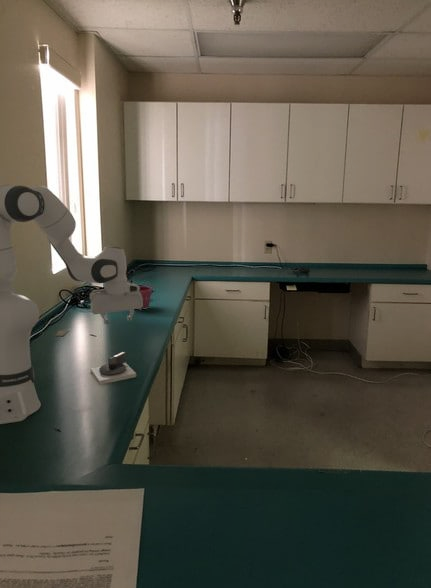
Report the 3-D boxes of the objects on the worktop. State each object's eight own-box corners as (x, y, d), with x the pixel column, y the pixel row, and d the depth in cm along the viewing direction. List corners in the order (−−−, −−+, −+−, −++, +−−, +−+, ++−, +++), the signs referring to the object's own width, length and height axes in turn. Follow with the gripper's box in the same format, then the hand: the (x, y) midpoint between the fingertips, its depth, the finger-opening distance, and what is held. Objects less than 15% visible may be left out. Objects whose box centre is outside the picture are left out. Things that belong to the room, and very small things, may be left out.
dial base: (99, 384, 164) (99, 380, 164) (90, 371, 176) (90, 368, 176) (136, 376, 171) (136, 372, 170) (125, 365, 183) (124, 361, 182)
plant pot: (125, 311, 269) (124, 290, 266) (133, 305, 283) (132, 285, 280) (148, 311, 267) (147, 291, 264) (155, 306, 280) (154, 286, 278)
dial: (114, 377, 166) (113, 364, 165) (94, 372, 171) (93, 359, 170) (134, 366, 177) (133, 354, 176) (114, 362, 181) (114, 350, 180)
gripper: (91, 292, 166) (93, 327, 169) (143, 286, 175) (145, 320, 178) (87, 289, 171) (89, 323, 174) (138, 283, 181) (139, 316, 184)
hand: (118, 322), depth 176 cm, fingers open, 8 cm apart
